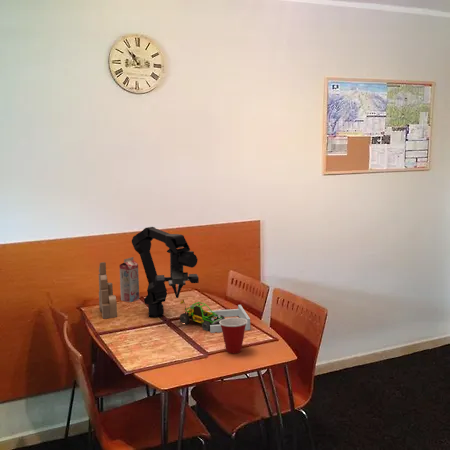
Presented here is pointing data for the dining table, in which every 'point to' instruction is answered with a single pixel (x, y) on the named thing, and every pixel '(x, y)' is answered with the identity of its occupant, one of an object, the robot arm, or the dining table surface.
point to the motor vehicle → (200, 316)
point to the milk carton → (129, 280)
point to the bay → (230, 313)
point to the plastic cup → (233, 333)
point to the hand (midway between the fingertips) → (177, 297)
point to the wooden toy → (106, 295)
